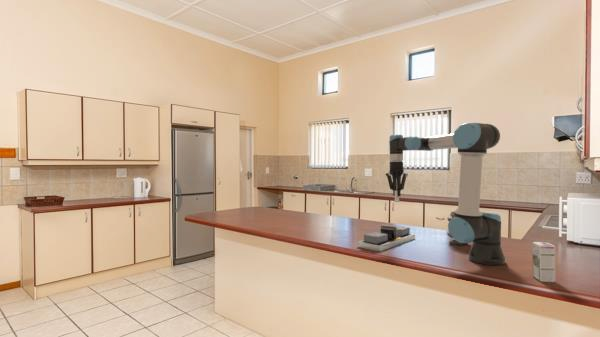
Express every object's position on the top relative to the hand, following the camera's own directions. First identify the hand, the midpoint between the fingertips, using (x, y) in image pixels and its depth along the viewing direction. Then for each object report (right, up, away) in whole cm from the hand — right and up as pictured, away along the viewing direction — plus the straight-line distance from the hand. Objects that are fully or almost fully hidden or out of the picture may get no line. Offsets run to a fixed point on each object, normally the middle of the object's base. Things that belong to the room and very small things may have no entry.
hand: (397, 201), depth 192 cm
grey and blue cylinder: (+35, -24, -1) cm, 43 cm away
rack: (-5, -24, +1) cm, 25 cm away
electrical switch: (-4, -23, +1) cm, 24 cm away
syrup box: (+41, -25, -60) cm, 77 cm away
